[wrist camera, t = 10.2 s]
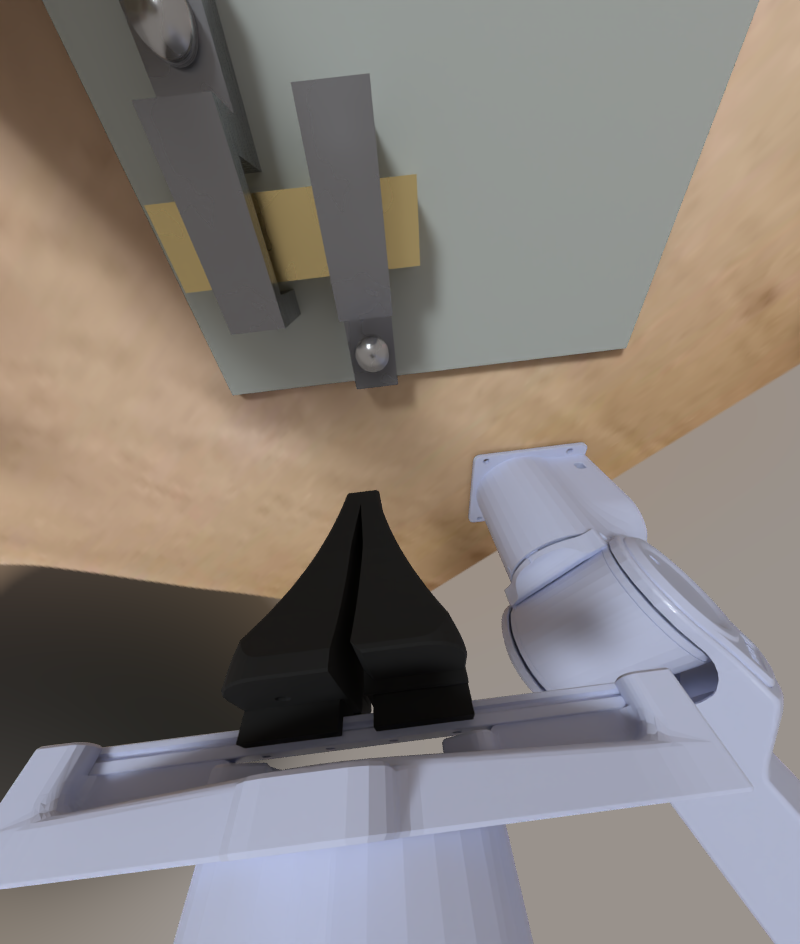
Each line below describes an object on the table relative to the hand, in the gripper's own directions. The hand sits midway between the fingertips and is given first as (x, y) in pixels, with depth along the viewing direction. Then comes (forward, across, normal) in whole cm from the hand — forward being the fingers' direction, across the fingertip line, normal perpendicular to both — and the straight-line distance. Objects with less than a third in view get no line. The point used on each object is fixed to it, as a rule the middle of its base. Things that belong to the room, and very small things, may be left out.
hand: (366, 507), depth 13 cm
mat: (+10, -4, -10) cm, 15 cm away
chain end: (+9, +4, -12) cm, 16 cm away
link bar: (+9, +2, -10) cm, 14 cm away
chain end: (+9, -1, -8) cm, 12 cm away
